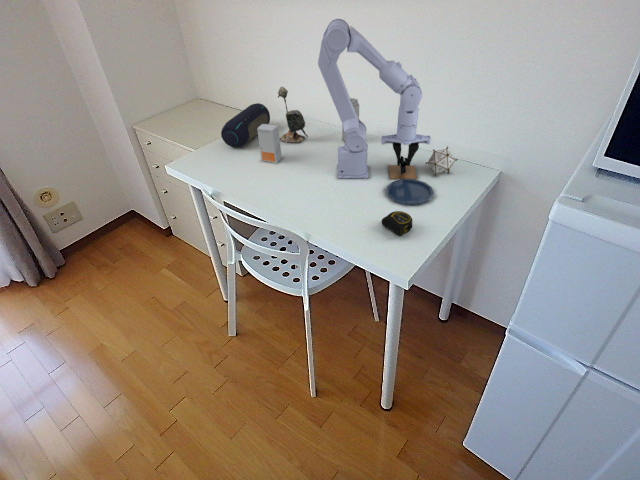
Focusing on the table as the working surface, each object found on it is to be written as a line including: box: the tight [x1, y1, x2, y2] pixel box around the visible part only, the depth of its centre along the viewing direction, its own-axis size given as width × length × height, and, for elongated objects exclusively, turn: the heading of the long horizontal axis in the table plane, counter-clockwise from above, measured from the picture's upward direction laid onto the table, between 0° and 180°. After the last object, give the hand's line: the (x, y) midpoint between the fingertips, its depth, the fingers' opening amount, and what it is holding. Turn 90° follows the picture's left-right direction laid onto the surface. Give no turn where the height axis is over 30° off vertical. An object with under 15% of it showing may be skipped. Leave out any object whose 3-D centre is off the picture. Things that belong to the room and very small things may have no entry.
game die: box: [424, 146, 459, 177], centre depth 125 cm, size 9×8×10 cm
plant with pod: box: [277, 86, 309, 143], centre depth 145 cm, size 8×11×20 cm
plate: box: [386, 179, 434, 207], centre depth 118 cm, size 13×13×1 cm
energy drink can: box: [341, 97, 360, 144], centre depth 144 cm, size 6×6×15 cm
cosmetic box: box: [257, 123, 282, 164], centre depth 135 cm, size 6×4×12 cm
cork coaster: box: [388, 164, 418, 180], centre depth 128 cm, size 8×8×1 cm
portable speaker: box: [220, 102, 271, 148], centre depth 152 cm, size 25×10×10 cm, turn 159°
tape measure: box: [381, 210, 413, 238], centre depth 104 cm, size 7×7×4 cm
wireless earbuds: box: [400, 155, 408, 175], centre depth 125 cm, size 7×2×5 cm, turn 175°
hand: (403, 164), depth 126 cm, fingers closed on wireless earbuds, 2 cm apart
